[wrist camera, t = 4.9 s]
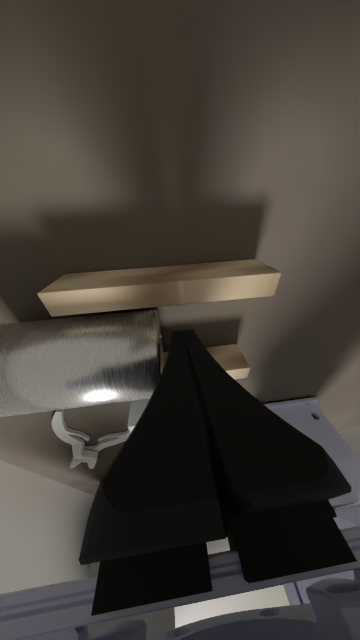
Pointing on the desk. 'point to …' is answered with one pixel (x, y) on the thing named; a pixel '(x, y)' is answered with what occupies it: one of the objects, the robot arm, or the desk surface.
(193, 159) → the desk surface
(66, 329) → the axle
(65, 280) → the wooden rails
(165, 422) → the robot arm
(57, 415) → the pliers
